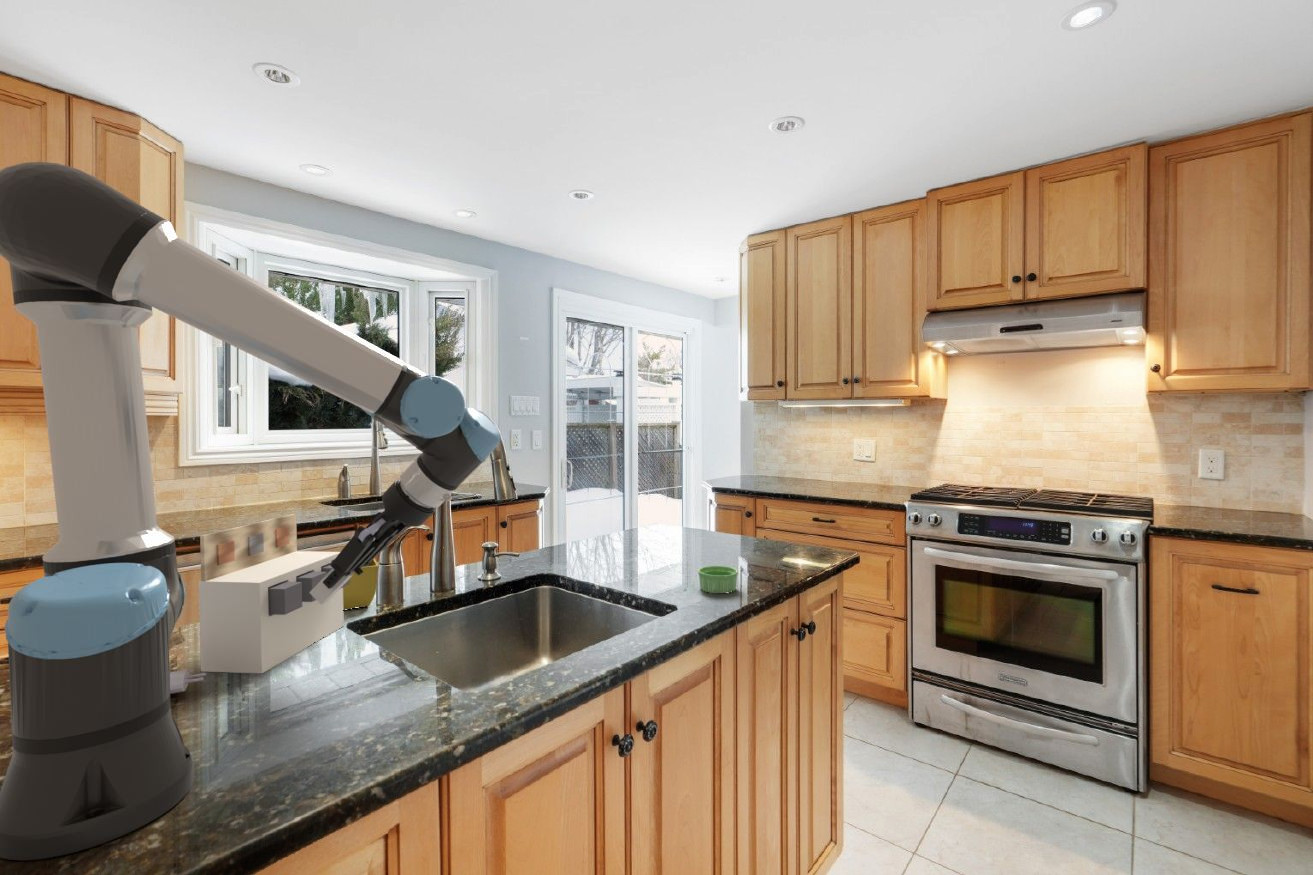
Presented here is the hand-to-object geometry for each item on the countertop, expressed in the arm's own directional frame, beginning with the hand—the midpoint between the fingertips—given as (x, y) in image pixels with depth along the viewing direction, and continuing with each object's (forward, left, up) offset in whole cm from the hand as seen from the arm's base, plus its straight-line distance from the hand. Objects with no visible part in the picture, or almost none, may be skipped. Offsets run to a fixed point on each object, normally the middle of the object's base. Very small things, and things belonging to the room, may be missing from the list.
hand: (318, 597), depth 97 cm
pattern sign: (+6, +16, +3) cm, 17 cm away
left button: (0, +6, -2) cm, 6 cm away
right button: (+13, +6, -2) cm, 14 cm away
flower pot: (+28, +12, -11) cm, 33 cm away
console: (+6, +12, -11) cm, 17 cm away
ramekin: (+47, -63, -11) cm, 80 cm away
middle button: (+6, +6, -2) cm, 9 cm away
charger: (-15, +17, -11) cm, 25 cm away
